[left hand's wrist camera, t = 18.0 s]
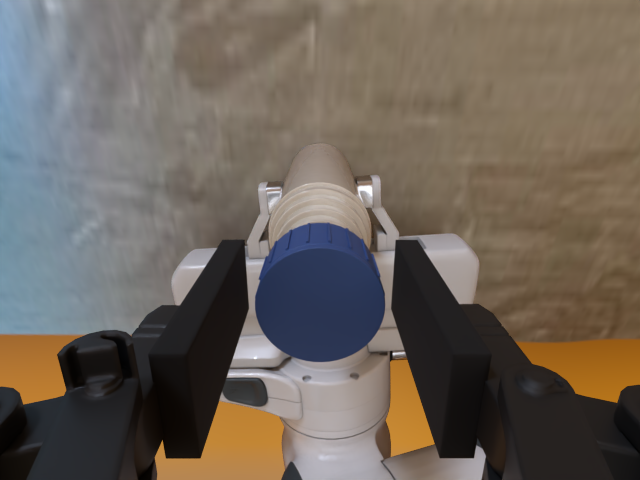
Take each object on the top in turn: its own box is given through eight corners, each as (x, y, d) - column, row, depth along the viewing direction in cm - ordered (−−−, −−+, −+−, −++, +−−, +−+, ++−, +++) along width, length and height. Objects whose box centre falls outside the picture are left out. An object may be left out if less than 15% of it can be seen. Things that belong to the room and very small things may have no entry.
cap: (399, 282, 15) (413, 316, 12) (312, 343, 16) (311, 385, 13) (329, 197, 14) (330, 218, 11) (239, 267, 14) (225, 300, 12)
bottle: (288, 200, 33) (243, 358, 14) (291, 141, 32) (244, 222, 12) (347, 204, 33) (385, 367, 14) (352, 145, 32) (406, 233, 12)
